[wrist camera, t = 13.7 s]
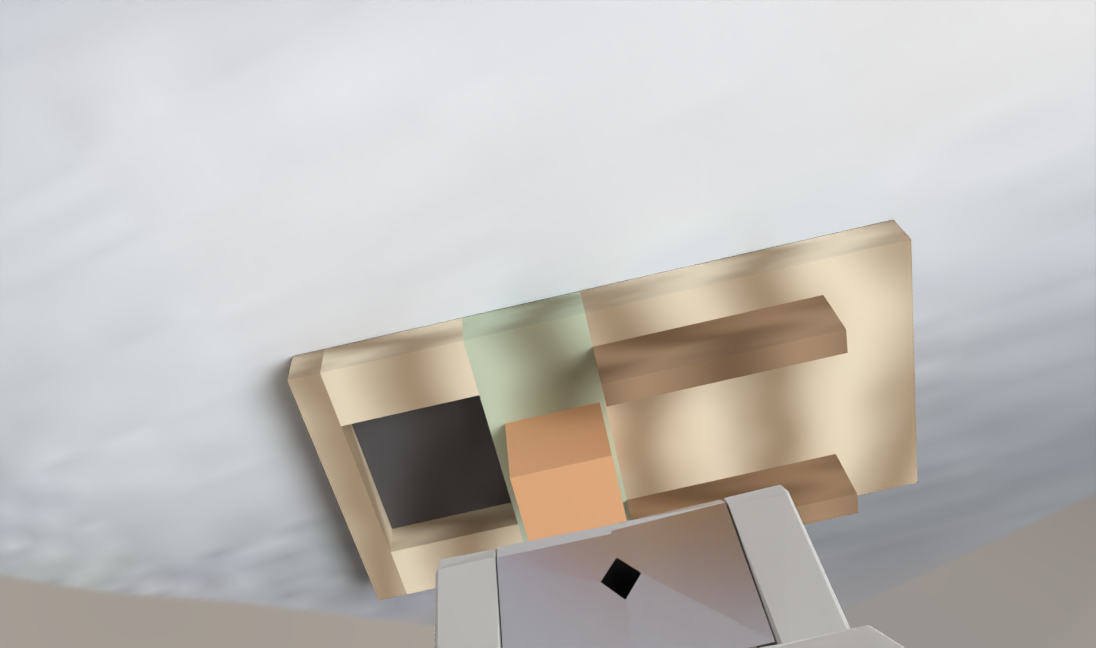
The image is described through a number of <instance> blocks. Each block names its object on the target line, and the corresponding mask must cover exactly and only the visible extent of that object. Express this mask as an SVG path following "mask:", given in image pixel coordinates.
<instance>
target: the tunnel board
mask: <svg viewBox="0 0 1096 648" xmlns="http://www.w3.org/2000/svg"><path fill="white" fill-rule="evenodd" d="M287 381H288V384H289V386H290V388H291V391H292V393H293V396H294V398H295V400H296V403H297V405H298V408H299V410H300V412H301V415H302V417H303V420H304V422H305V425H306V427H307V429H308V432H309V434H310V437H311V439H312V441H313V444H314V446H315V449H316V451H317V453H318V456H319V458H320V461H321V463H322V465H323V468H324V470H325V473H326V475H327V477H328V480H329V482H330V485H331V487H332V489H333V492H334V494H335V497H336V499H337V501H338V504H339V506H340V509H341V511H342V513H343V516H344V518H345V521H346V523H347V525H348V528H349V530H350V533H351V535H352V537H353V540H354V542H355V545H356V547H357V549H358V552H359V554H360V557H361V559H362V561H363V564H364V566H365V569H366V571H367V573H368V576H369V578H370V581H371V583H372V585H373V588H374V590H375V593H376V595H377V597H378V600H383V599H388V598H392V597H397V596H401V595H406V594H410V593H415V592H420V591H424V590H429V589H433V588H435V576H436V571H437V568H438V565H439V562H440V560H441V559H446V558H451V557H456V556H461V555H467V554H472V553H477V552H482V551H488V550H493V549H498V547H501V546H506V545H511V544H516V543H522V542H527V541H529V540H528V537H527V534H526V530H525V527H524V524H523V520H522V517H521V514H520V510H519V507H518V504H517V500H516V497H515V494H514V490H513V487H512V484H511V480H510V474H509V462H508V451H507V440H506V429H505V423H510V422H514V421H518V420H523V419H527V418H532V417H536V416H540V415H545V414H549V413H554V412H558V411H563V410H567V409H571V408H576V407H580V406H585V405H589V404H594V403H598V402H600V406H601V410H602V414H603V419H604V423H605V427H606V432H607V436H608V441H609V445H610V449H611V454H612V458H613V462H614V467H615V471H616V475H617V480H618V484H619V489H620V493H621V497H622V502H623V506H624V510H625V515H626V519H627V521H629V520H633V519H638V518H642V517H647V516H651V515H655V514H660V513H664V512H668V511H673V510H677V509H682V508H686V507H690V506H695V505H699V504H703V503H708V502H712V501H717V500H722V501H724V498H726V497H730V496H735V495H739V494H743V493H747V492H751V491H756V490H760V489H764V488H768V487H772V486H777V485H781V486H783V487H784V488H785V489H786V490H787V491H788V492H789V494H790V496H791V498H792V501H793V503H794V505H795V507H796V509H797V512H798V514H799V516H800V518H801V520H802V523H803V525H804V524H808V523H813V522H818V521H822V520H827V519H831V518H836V517H840V516H845V515H850V514H854V513H858V502H857V495H862V494H866V493H871V492H876V491H880V490H885V489H889V488H894V487H898V486H903V485H907V484H912V483H917V452H916V412H915V373H914V333H913V294H912V254H911V239H910V237H909V236H908V235H907V234H906V233H905V232H904V231H903V230H902V229H901V227H900V226H899V225H898V224H897V223H896V222H895V221H894V220H891V221H887V222H882V223H878V224H874V225H869V226H865V227H860V228H856V229H852V230H847V231H843V232H838V233H834V234H830V235H825V236H821V237H816V238H812V239H808V240H803V241H799V242H794V243H790V244H786V245H781V246H777V247H772V248H768V249H764V250H759V251H755V252H750V253H746V254H742V255H737V256H733V257H728V258H724V259H720V260H715V261H711V262H706V263H702V264H698V265H693V266H689V267H684V268H680V269H676V270H671V271H667V272H662V273H658V274H654V275H649V276H645V277H640V278H636V279H631V280H627V281H623V282H618V283H614V284H609V285H605V286H601V287H596V288H592V289H587V290H583V291H579V292H574V293H570V294H565V295H561V296H557V297H552V298H548V299H543V300H539V301H535V302H530V303H526V304H521V305H517V306H513V307H508V308H504V309H499V310H495V311H491V312H486V313H482V314H477V315H473V316H469V317H464V318H460V319H455V320H451V321H447V322H442V323H438V324H433V325H429V326H425V327H420V328H416V329H411V330H407V331H403V332H398V333H394V334H389V335H385V336H381V337H376V338H372V339H367V340H363V341H359V342H354V343H350V344H345V345H341V346H337V347H332V348H328V349H323V350H319V351H315V352H310V353H306V354H301V355H297V356H293V358H292V362H291V367H290V371H289V375H288V379H287Z"/></svg>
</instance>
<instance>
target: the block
mask: <svg viewBox="0 0 1096 648" xmlns="http://www.w3.org/2000/svg"><path fill="white" fill-rule="evenodd" d="M505 429H506V440H507V451H508V462H509V474H510V480H511V484H512V487H513V490H514V494H515V497H516V500H517V504H518V507H519V510H520V514H521V517H522V520H523V524H524V527H525V530H526V534H527V537H528V540H529V541H532V540H537V539H542V538H547V537H552V536H557V535H562V534H567V533H573V532H578V531H583V530H588V529H593V528H598V527H603V526H608V525H612V524H616V523H620V522H625V521H627V519H626V515H625V510H624V506H623V502H622V497H621V493H620V489H619V484H618V480H617V475H616V471H615V467H614V462H613V458H612V454H611V449H610V445H609V441H608V436H607V432H606V427H605V423H604V419H603V414H602V410H601V406H600V402H598V403H594V404H589V405H585V406H580V407H576V408H571V409H567V410H563V411H558V412H554V413H549V414H545V415H540V416H536V417H532V418H527V419H523V420H518V421H514V422H510V423H505Z"/></svg>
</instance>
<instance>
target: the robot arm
mask: <svg viewBox="0 0 1096 648" xmlns="http://www.w3.org/2000/svg"><path fill="white" fill-rule="evenodd" d="M435 648H905V647H903V646H901V645H900V644H898V643H897V642H895V641H893V640H892V639H890V638H889V637H887V636H886V635H884V634H882V633H881V632H879V631H878V630H876V629H874V628H873V627H871V626H870V625H868V626H862V627H857V628H851V629H850V627H849V625H848V623H847V620H846V618H845V616H844V613H843V611H842V609H841V607H840V605H839V602H838V600H837V598H836V596H835V594H834V591H833V589H832V587H831V585H830V582H829V580H828V578H827V576H826V574H825V571H824V569H823V567H822V565H821V563H820V560H819V558H818V556H817V554H816V551H815V549H814V547H813V545H812V543H811V540H810V538H809V536H808V534H807V532H806V529H805V527H804V525H803V523H802V520H801V518H800V516H799V514H798V512H797V509H796V507H795V505H794V503H793V501H792V498H791V496H790V494H789V492H788V491H787V490H786V489H785V488H784V487H783V486H781V485H777V486H772V487H768V488H764V489H760V490H756V491H751V492H747V493H743V494H739V495H735V496H730V497H726V498H724V501H722V500H717V501H712V502H708V503H703V504H699V505H695V506H690V507H686V508H682V509H677V510H673V511H668V512H664V513H660V514H655V515H651V516H647V517H642V518H638V519H633V520H629V521H625V522H620V523H616V524H612V525H608V526H603V527H598V528H593V529H588V530H583V531H578V532H573V533H567V534H562V535H557V536H552V537H547V538H542V539H537V540H532V541H527V542H522V543H516V544H511V545H506V546H501V547H498V549H493V550H488V551H482V552H477V553H472V554H467V555H461V556H456V557H451V558H446V559H441V560H440V562H439V565H438V568H437V571H436V576H435Z"/></svg>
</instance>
